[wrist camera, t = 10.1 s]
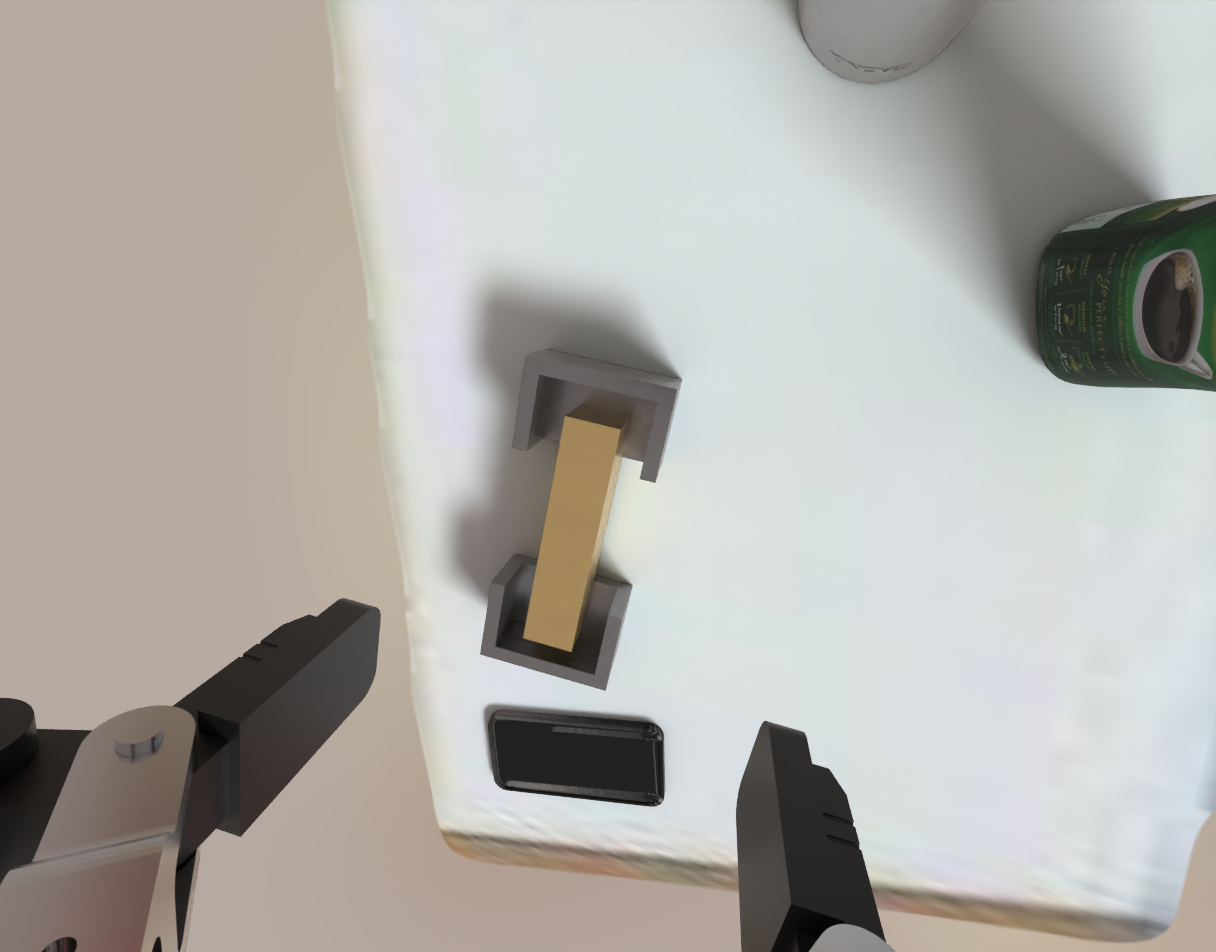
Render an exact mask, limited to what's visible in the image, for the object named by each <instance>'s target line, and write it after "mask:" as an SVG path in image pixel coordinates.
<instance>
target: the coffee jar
mask: <svg viewBox="0 0 1216 952" xmlns="http://www.w3.org/2000/svg"><path fill="white" fill-rule="evenodd" d="M1036 322H1037V334H1038V340H1039V346H1040V351H1041V356H1042V359H1043V362H1044V363H1045V365H1046V367H1047V368H1048V369H1049V370H1050V372H1051V373H1052V374H1054V375H1055V376H1056V377H1057V378H1059V379H1061V380H1063V381H1066V382H1069V383H1073V384H1079V385H1087V386H1098V387H1128V388H1135V387H1142V388H1180V389H1197V390H1206V391H1214V392H1216V194H1214V195H1205V196H1196V197H1186V198H1177V199H1169V200H1161V201H1155V202H1148V203H1142V204H1136V205H1131V206H1126V207H1122V208H1118V209H1114V210H1110V211H1106V212H1103V213H1100V214H1096V215H1093V216H1090V217H1087V218H1085V219H1082V220H1079V221H1077V222H1075V223H1073V224H1071V225H1070V226H1068V227H1066V228H1065V229H1064V230H1062V231H1061V232H1060V233H1059V234H1058V235H1056V236H1055V237H1054V239H1053V240H1052V241H1051V242H1050V244H1049V245H1048V246H1047V248H1046V249H1045V251H1044V253H1043V256H1042V259H1041V261H1040V265H1039V272H1038V280H1037V290H1036Z"/></svg>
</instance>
